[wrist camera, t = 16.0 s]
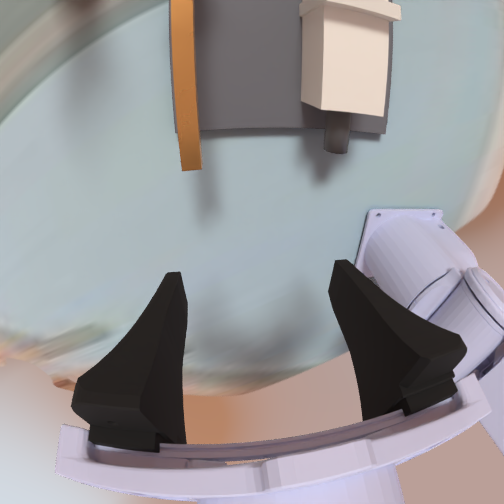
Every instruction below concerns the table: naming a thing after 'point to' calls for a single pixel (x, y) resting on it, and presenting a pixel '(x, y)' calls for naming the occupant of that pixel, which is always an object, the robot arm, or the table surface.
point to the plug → (345, 61)
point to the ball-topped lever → (186, 83)
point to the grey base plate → (258, 68)
